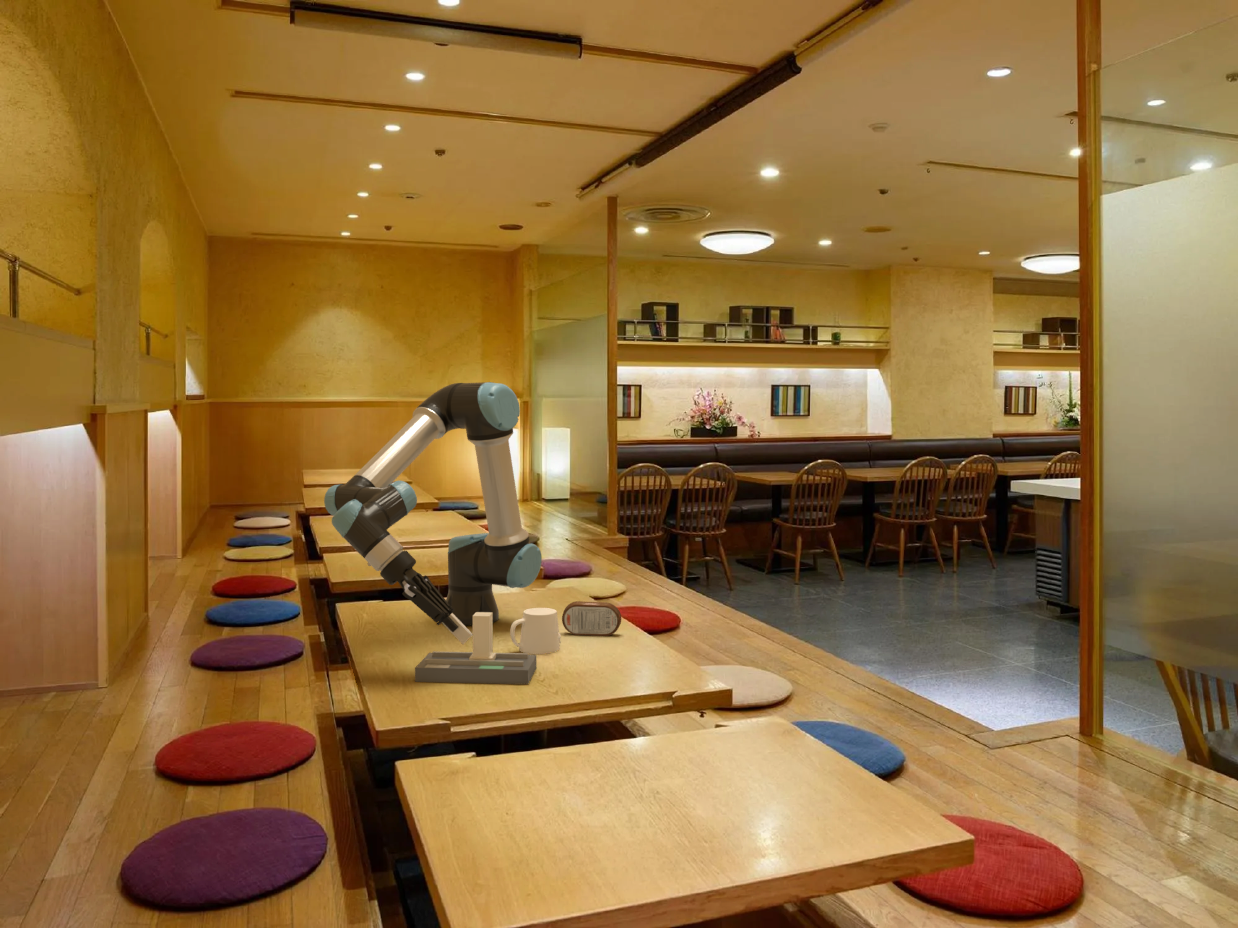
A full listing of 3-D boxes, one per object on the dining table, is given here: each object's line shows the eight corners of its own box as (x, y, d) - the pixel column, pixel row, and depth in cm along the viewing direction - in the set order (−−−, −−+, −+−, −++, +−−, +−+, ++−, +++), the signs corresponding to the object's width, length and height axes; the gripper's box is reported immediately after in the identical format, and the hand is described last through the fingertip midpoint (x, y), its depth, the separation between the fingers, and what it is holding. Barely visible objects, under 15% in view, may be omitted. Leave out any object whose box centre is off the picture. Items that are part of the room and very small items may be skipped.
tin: (621, 634, 242) (621, 601, 241) (620, 637, 239) (620, 604, 238) (562, 632, 243) (563, 600, 243) (561, 635, 240) (561, 602, 239)
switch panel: (429, 665, 212) (429, 648, 212) (536, 668, 211) (536, 650, 210) (415, 681, 200) (414, 662, 200) (528, 684, 199) (528, 665, 198)
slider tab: (473, 656, 207) (473, 611, 207) (496, 657, 207) (496, 612, 206) (469, 662, 203) (468, 616, 202) (492, 662, 203) (492, 616, 202)
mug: (553, 606, 231) (564, 612, 224) (552, 643, 232) (564, 651, 225) (505, 610, 226) (516, 617, 219) (505, 649, 227) (516, 657, 220)
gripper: (388, 567, 211) (462, 643, 211) (369, 578, 198) (448, 659, 198) (412, 544, 210) (486, 620, 210) (394, 553, 197) (473, 635, 197)
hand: (468, 639), depth 204 cm, fingers closed
